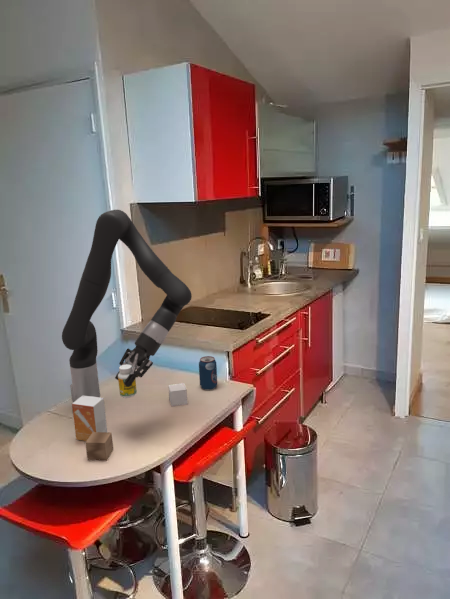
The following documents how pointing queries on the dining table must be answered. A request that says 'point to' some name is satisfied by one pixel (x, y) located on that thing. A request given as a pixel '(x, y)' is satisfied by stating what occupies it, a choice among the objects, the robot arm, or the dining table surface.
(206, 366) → the soda can
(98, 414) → the small box
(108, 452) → the walnut cube
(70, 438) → the dining table surface
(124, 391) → the supplement bottle
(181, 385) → the white cube
